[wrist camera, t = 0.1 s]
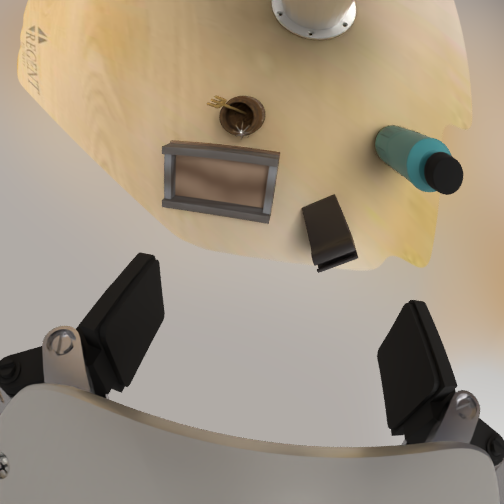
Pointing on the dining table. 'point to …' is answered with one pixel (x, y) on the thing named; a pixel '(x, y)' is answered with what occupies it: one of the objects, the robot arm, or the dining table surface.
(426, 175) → the beverage bottle
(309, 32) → the robot arm
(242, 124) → the utensil holder
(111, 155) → the dining table surface
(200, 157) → the gray framed rectangular tray
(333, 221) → the phone stand
